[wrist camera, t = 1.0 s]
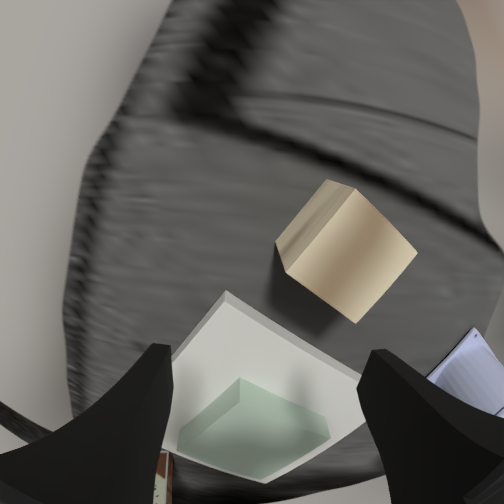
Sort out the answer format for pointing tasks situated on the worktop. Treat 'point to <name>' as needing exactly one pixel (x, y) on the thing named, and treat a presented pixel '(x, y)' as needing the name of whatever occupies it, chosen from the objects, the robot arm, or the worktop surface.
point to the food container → (164, 479)
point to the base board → (261, 365)
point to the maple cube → (343, 249)
